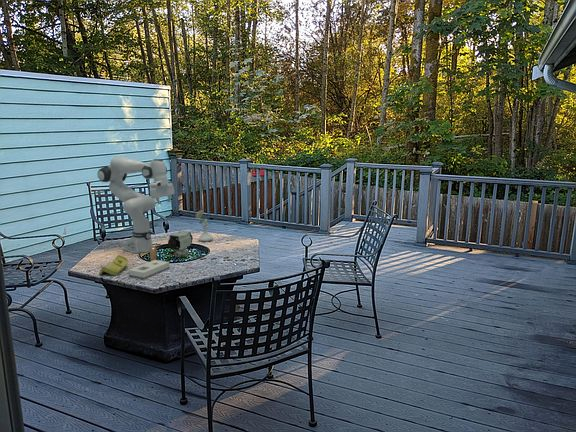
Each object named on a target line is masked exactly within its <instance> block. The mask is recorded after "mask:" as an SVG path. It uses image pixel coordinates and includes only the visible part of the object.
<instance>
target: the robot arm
mask: <svg viewBox="0 0 576 432" xmlns="http://www.w3.org/2000/svg"><path fill="white" fill-rule="evenodd" d="M136 173H141V174H142V177H143V178H144V179H145V180H146V179H147V180H151V179H153V181H152V182H151V183H148V187H149V194H150V195H145V194H143V193H140V192H138V191H136V190H134V189H133V188H131V187H130V186H129V185H127V184H126V183H124V182H125V180H126V178H127V176H128V174H136ZM167 173H168V169H167V166H166V163H165V161H164V160H163V159H161V158H154V159H151V161H150V162H149V163H148V162H144V161H143V162H142V161H140V160H135V159H132V158H129V157H124V156H114V157H113V158H112V159H111V160H110V163H109V165H105V166H103V167H101V168H99V170H98V171H97V178H98V179H99V181H101V182H102V183H109V185H108V189H109V191H110V192H111V193H112V194H113V196H115V197H116V198H117V199H118V200H120V201H121V202H123V206H122V207H123V211H124V212H125V213H126V214H127V215H129V217H130V218H131V221H132V227H133V231H132V232H131V235H132V236H131V237H130V238H129V239H128V240H127V241H126V243H125V247H123V248H122V250H123V251H125V252H128V253H132V254H139V253H141V254H142V253H148V252H150V248H151V247H154V245H153V239H152V236H151V235H152V232H151V227H150V226H151V225H150V224H151V223H150V220H149V218H147V217H145V215H144V213H145V212H148V211H151V210H153V209H154V208H155V207H156V205H162V201H160V198H163V197H167V199H166V201H167V203H170V202H172V201H171V199H172V195H175V188H174V184H173V182H171V180H170V181H169V179H168V175H167Z"/></svg>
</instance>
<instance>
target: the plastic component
mask: <svg viewBox="0 0 576 432" xmlns="http://www.w3.org/2000/svg"><path fill="white" fill-rule="evenodd" d="M128 264H129V259H128V258H127V257H126V256H123V255H121V254H118V255H116V257H115V258H114V259H113V261H112V262H111V263H110V264H108V265H107V266H105V265H104V266H102V267H101V269H100V271H99V272H98V275H100V274H101V275H103V274H104V273H106V274H109V275H111V276H117V275H118V274H119V273H120V271H123V270H124V269H125V268H126V266H127V265H128ZM102 273H103V274H102ZM116 274H117V275H116Z"/></svg>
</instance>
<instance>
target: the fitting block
mask: <svg viewBox="0 0 576 432" xmlns="http://www.w3.org/2000/svg"><path fill="white" fill-rule="evenodd" d="M168 269H170V261H165V260H159V259H158V260H153V261H151V260H150V261H148V262H146V263H143V264H140V265H138V266H136V267H133V268H130V269H128V276H129V277H130V276H131V278H134V279H136V278H137V279H140V280H141V279H142V280H146V279H147V278H150V277H153V276H155V275H157V274H159V273H162V272H165V271H166V270H168Z"/></svg>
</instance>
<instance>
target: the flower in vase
mask: <svg viewBox="0 0 576 432" xmlns="http://www.w3.org/2000/svg"><path fill="white" fill-rule="evenodd" d="M203 214H204V210H202V209H201V210H199V211H198V212H196V214H195V219H197V220H198V219H200V218H201V219H200V220H198V222H197V223H198V224H201V225H202V227H203V233H202V234H201V235H200V236H199V237H198V241H200V242H211V241H213V239H214V238H213V236H212V235H211V234H210V233H209V232H208V231H207V230H208V224H209V223H208V218H205V219H203V217H202V216H203Z"/></svg>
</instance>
